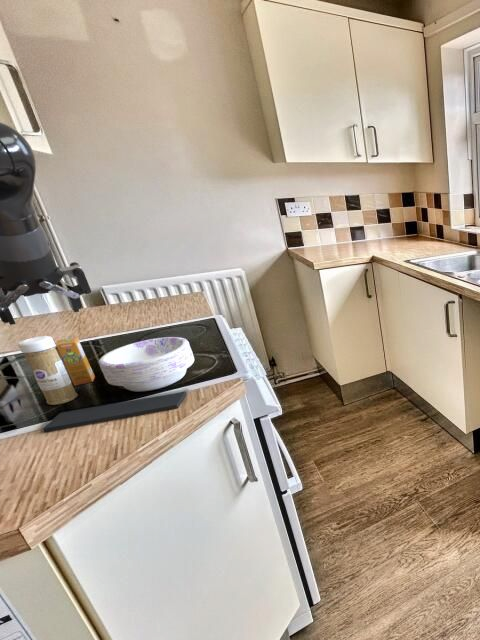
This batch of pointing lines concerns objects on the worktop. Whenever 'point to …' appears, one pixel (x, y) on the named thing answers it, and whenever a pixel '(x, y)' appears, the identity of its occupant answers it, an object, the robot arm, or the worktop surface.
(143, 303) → the worktop surface
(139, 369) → the paper bowls
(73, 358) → the supplement box
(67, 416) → the strip
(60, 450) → the worktop surface
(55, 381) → the sprinkles bottle
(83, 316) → the worktop surface
